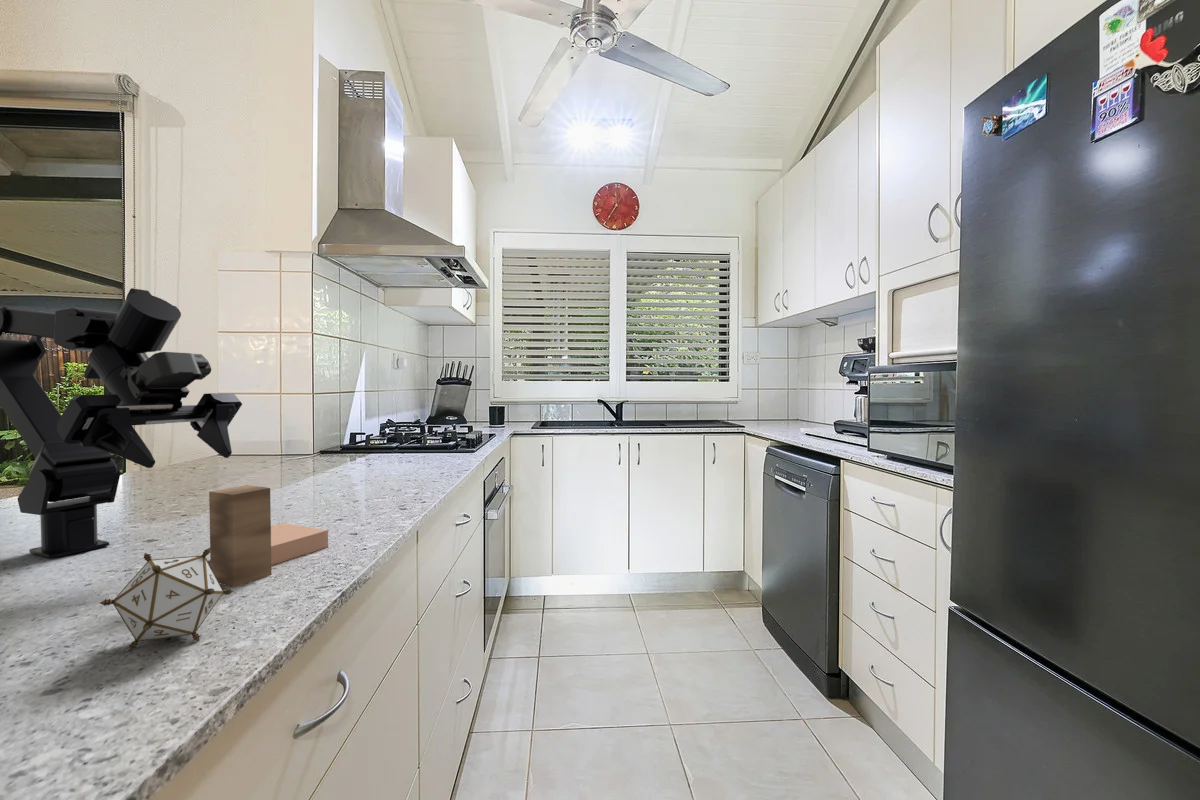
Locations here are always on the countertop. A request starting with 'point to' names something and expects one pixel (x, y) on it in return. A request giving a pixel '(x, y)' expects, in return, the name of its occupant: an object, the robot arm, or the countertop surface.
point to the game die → (168, 598)
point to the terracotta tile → (295, 541)
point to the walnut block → (240, 534)
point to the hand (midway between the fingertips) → (193, 460)
